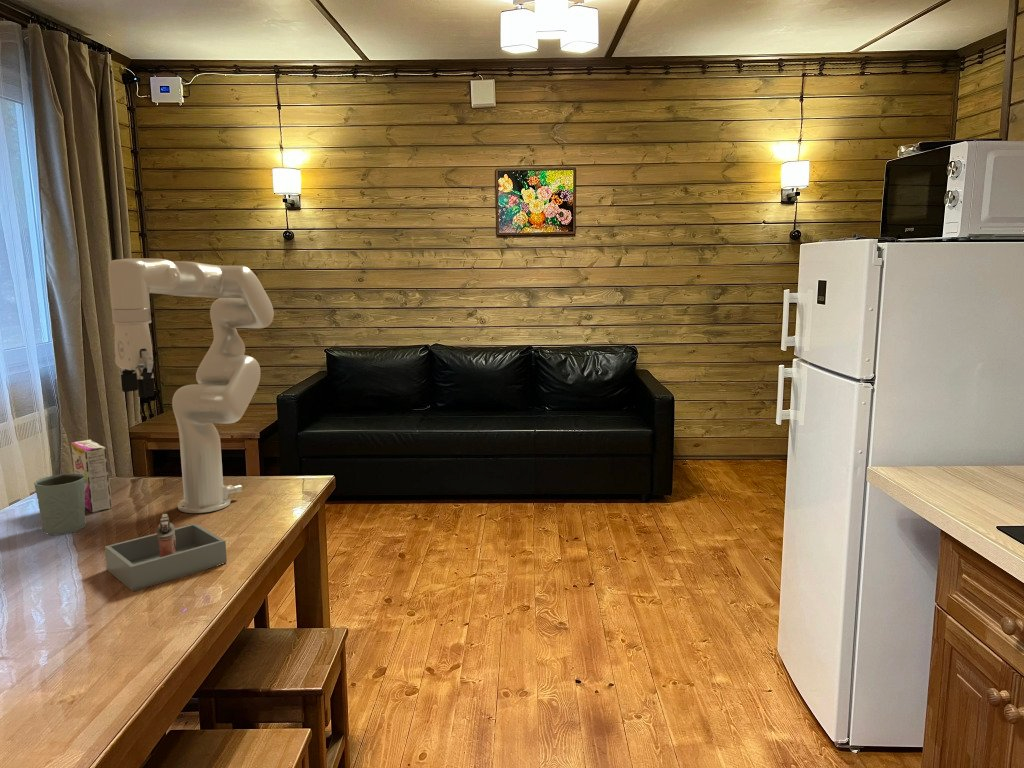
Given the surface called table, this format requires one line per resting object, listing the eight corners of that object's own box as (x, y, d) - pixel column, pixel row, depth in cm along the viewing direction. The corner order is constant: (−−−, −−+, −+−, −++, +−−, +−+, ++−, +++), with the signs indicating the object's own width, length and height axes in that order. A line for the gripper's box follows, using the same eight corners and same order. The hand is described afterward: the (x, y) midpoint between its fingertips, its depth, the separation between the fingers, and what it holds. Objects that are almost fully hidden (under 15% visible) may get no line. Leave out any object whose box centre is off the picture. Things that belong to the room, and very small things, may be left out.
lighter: (177, 569, 151) (174, 523, 149) (159, 572, 150) (155, 525, 148) (177, 555, 158) (173, 510, 156) (159, 558, 157) (155, 512, 155)
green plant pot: (39, 539, 169) (33, 488, 167) (39, 525, 177) (34, 477, 175) (90, 530, 174) (85, 481, 172) (88, 517, 183) (83, 470, 181)
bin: (196, 544, 166) (195, 523, 165) (226, 563, 156) (225, 540, 155) (106, 569, 152) (104, 546, 152) (133, 591, 142) (131, 567, 142)
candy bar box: (75, 503, 193) (69, 442, 190) (96, 499, 197) (91, 438, 194) (91, 513, 185) (84, 450, 183) (112, 508, 189) (106, 446, 186)
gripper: (99, 315, 165) (106, 391, 168) (128, 320, 153) (135, 401, 156) (135, 313, 171) (141, 387, 174) (165, 318, 159) (171, 396, 162)
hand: (138, 393), depth 165 cm, fingers open, 9 cm apart
